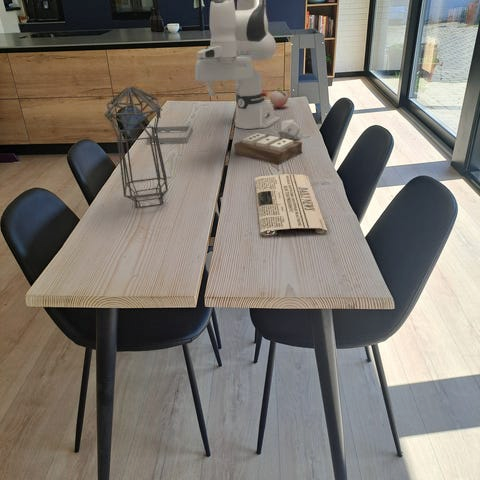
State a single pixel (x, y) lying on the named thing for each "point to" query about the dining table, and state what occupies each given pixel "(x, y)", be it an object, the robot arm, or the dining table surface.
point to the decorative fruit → (278, 98)
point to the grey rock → (288, 129)
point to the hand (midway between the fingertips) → (225, 94)
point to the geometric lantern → (155, 138)
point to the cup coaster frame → (173, 139)
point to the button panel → (268, 152)
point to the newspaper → (287, 204)
